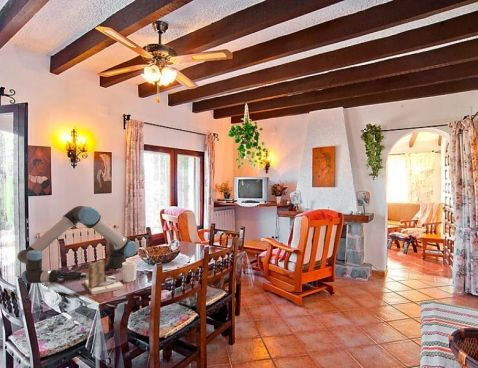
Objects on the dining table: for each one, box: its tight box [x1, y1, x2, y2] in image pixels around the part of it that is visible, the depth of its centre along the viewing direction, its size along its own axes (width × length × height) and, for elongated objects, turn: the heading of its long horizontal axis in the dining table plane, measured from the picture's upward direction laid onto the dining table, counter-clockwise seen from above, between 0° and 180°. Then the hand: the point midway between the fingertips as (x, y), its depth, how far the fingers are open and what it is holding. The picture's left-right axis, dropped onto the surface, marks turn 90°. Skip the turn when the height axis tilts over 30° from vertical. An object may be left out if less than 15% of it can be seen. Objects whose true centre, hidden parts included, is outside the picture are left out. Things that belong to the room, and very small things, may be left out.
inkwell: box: [68, 262, 93, 282], centre depth 203 cm, size 9×18×10 cm, turn 125°
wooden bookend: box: [87, 259, 116, 289], centre depth 184 cm, size 20×14×15 cm
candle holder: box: [121, 260, 138, 283], centre depth 199 cm, size 10×10×12 cm
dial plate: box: [84, 275, 124, 295], centre depth 187 cm, size 18×24×2 cm
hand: (92, 275), depth 178 cm, fingers closed
